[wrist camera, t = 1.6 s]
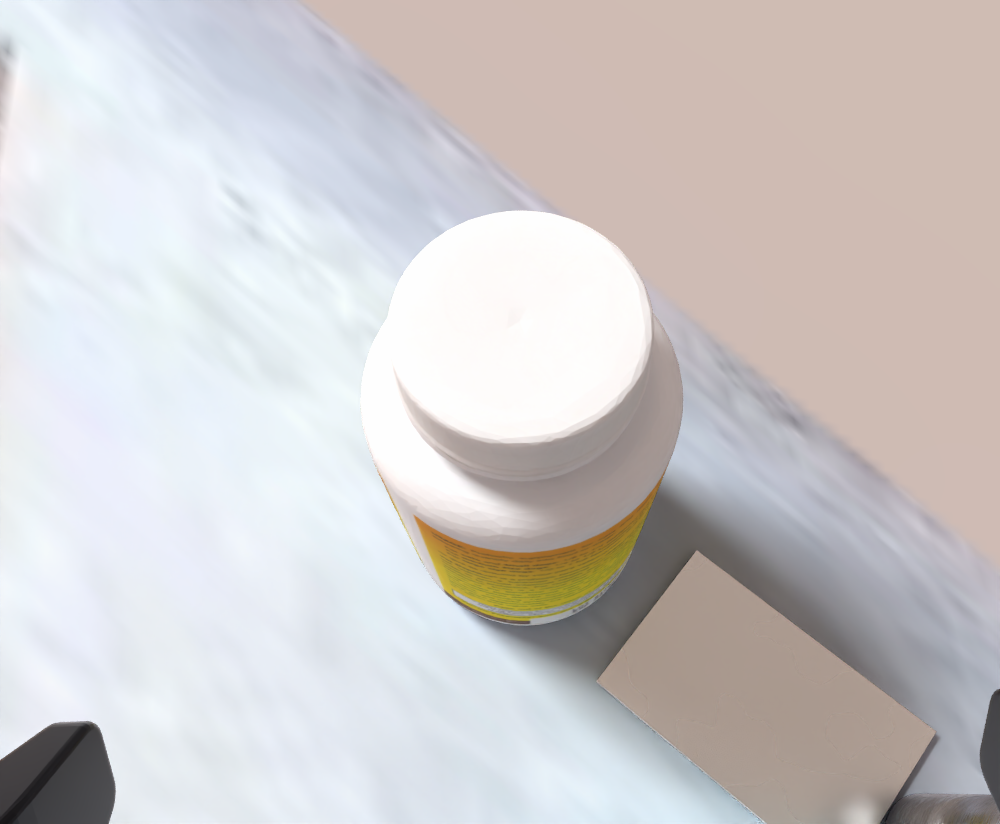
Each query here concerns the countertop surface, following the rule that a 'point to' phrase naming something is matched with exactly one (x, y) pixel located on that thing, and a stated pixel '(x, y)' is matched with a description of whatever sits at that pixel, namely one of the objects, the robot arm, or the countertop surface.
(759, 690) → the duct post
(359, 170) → the countertop surface
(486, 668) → the countertop surface
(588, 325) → the supplement bottle
